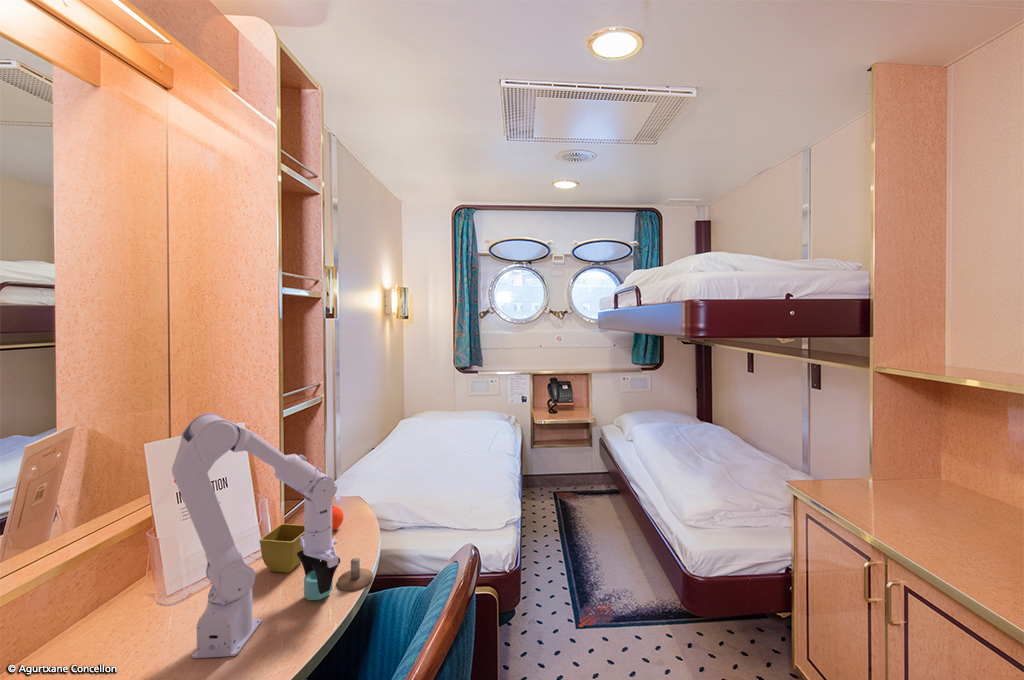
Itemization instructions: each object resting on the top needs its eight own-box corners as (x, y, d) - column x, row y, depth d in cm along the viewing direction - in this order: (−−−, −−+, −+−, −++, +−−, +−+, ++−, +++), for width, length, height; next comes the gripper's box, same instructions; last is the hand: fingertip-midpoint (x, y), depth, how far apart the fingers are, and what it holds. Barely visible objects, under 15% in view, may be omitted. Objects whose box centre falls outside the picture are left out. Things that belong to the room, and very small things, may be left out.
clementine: (325, 539, 121) (325, 514, 120) (310, 533, 124) (310, 509, 124) (348, 527, 127) (348, 504, 127) (333, 522, 131) (333, 499, 131)
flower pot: (313, 558, 110) (312, 525, 110) (292, 578, 102) (292, 541, 101) (281, 556, 111) (281, 523, 111) (258, 576, 103) (258, 539, 102)
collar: (326, 599, 92) (326, 581, 92) (301, 600, 92) (301, 582, 92) (334, 584, 98) (334, 567, 98) (310, 585, 97) (310, 568, 97)
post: (368, 590, 97) (367, 568, 97) (332, 591, 97) (332, 570, 97) (376, 570, 105) (376, 550, 105) (343, 571, 105) (343, 551, 104)
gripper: (351, 530, 93) (351, 590, 93) (321, 511, 102) (321, 566, 103) (319, 542, 87) (319, 606, 88) (290, 521, 97) (290, 579, 97)
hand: (318, 586), depth 95 cm, fingers closed on collar, 5 cm apart
